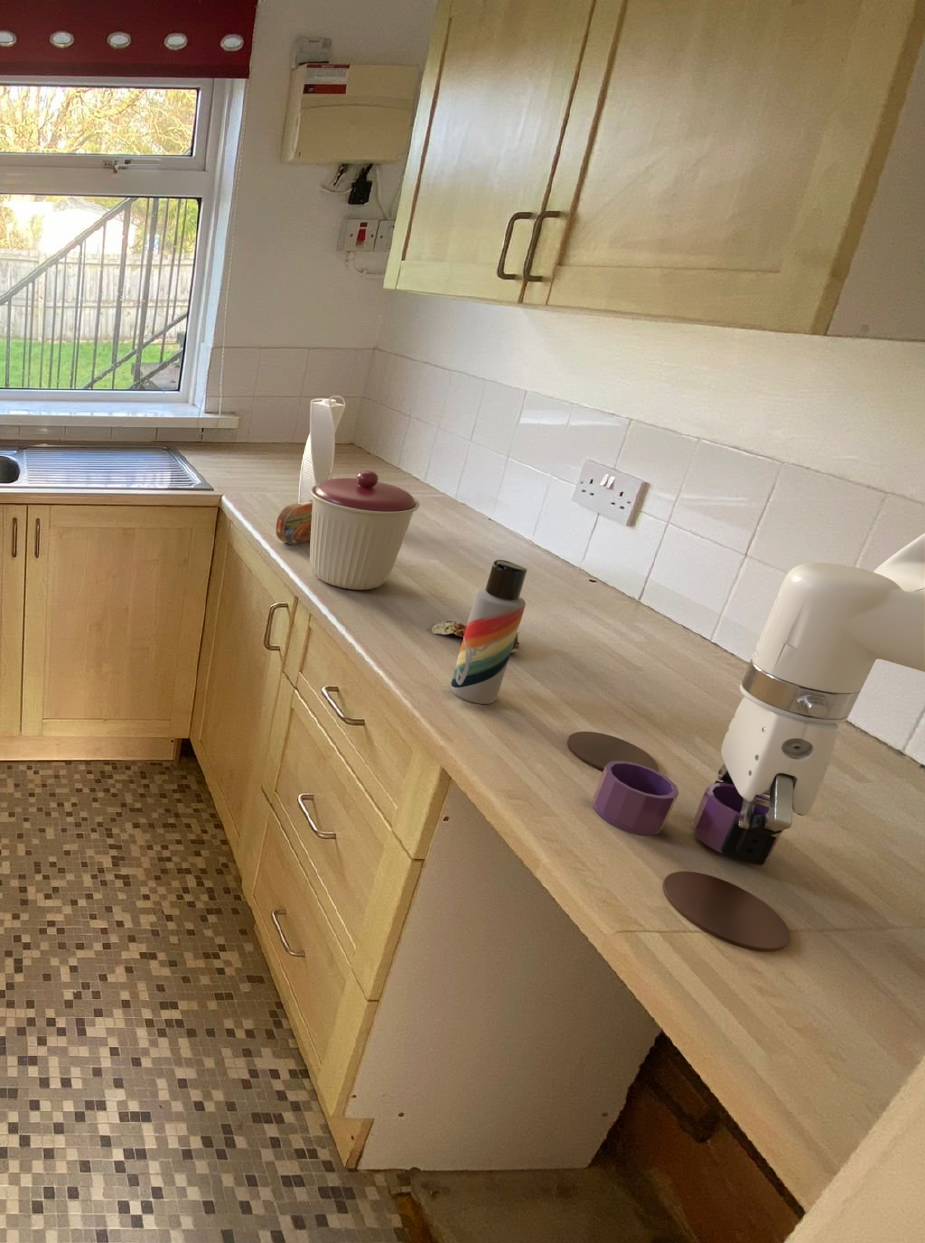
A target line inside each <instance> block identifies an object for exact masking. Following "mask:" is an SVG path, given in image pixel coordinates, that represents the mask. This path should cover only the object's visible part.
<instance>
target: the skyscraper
mask: <svg viewBox="0 0 925 1243" xmlns="http://www.w3.org/2000/svg"><path fill="white" fill-rule="evenodd" d="M334 398H337V399H341V401H342V402H343V404H342V403H338V402H337V400H336V399H334ZM346 406H347V404H346V401H345V398H344V397H343V396H342V395H340V394H339V395H338V394H334V395H333V394H332V395H331V396H329V397H328V398H325V397H316V398H312V399H311V400H310V406H309V407H310V410H309V434H308V436H307V439H306V444H305V447H304V451H303V455H302V460H301V465H300V466H301V467H300V473H299V486H298V502H297V503H300V502H304V501H309V500H313V496H312V495H311V493H310V489H311V488H312V487H313V486H314V485H317V484H320V483H322V482H324V481H327V480H332V479H334V476H333V474H332V473H333V469H334V461H335V451H336V435H335V434H336V432H337V429H338V427H339V424H340V422H341V419H342V417H343V414H344V411H345V409H346Z"/></svg>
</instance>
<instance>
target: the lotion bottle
mask: <svg viewBox="0 0 925 1243" xmlns="http://www.w3.org/2000/svg"><path fill="white" fill-rule="evenodd" d="M527 572H528V569H527V568H526V567H523V566H521V565H519V564H516V563H514V562H512V561H508V560H504V559H496V560H494V561H493V563H492V565H491V569H490V573H489V577H488V580H487V582H486V587H485V588H480V589H478V590H477V591H476V593H475V596H474V600H473V603H472V606H471V610H470V613H469V616H468V621H467V623H466V625H467V627H466V631H465V635H464V637H462V638H463V639H462V642H461V645H460V649H459V652H458V656H457V660H456V663H455V667H454V671H453V673H452V678H451V682H450V690H451V692H452V693H453V694H454V695H455V696H457V697H458V698H460V699H462V700H464V701H467V702H470V703H473V704H480V705H489V704H492V703H494V702H495V701H496V700H497V698H498V695H499V692H500V689H501V686H502V683H503V679H504V677H505V673H506V670H507V666H508V663H509V660H510V657H511V655H512V654H511V653H512V652H511V651H512V648H513V644H514V641H515V638H516V635H517V632H518V631H519V628H520V624H521V622H522V618H523V615H524V612H525V608H526V600H525V599H524V598H523V597H521V593H522V589H523V587H524V582H525V580H526V576H527Z"/></svg>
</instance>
